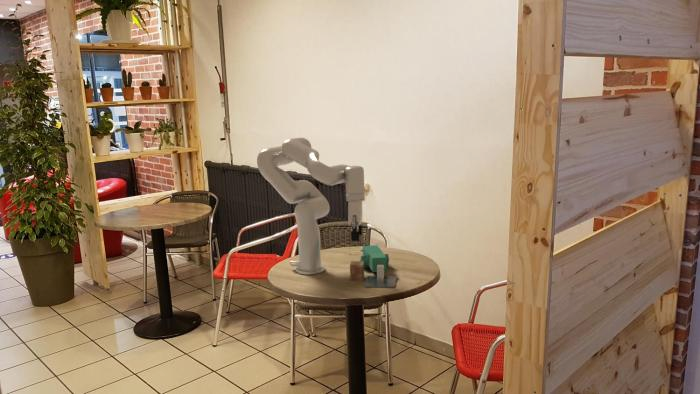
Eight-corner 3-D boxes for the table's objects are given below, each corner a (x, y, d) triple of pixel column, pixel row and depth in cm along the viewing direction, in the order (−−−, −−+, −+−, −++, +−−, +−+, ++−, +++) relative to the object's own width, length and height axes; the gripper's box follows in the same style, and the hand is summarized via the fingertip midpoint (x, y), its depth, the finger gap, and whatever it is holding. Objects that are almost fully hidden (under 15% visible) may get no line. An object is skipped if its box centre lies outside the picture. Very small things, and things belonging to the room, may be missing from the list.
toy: (379, 236, 249) (393, 253, 219) (379, 256, 250) (393, 275, 221) (354, 238, 247) (365, 255, 218) (354, 257, 249) (365, 277, 219)
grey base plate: (364, 287, 207) (364, 270, 206) (367, 277, 219) (367, 261, 218) (394, 287, 206) (394, 270, 204) (396, 277, 217) (395, 261, 216)
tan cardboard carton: (350, 280, 215) (349, 264, 214) (352, 276, 220) (351, 261, 219) (362, 280, 215) (362, 265, 213) (364, 276, 220) (363, 261, 219)
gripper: (349, 193, 220) (350, 232, 223) (343, 200, 204) (344, 243, 206) (366, 193, 219) (367, 232, 222) (362, 200, 203) (363, 243, 205)
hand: (356, 237), depth 214 cm, fingers open, 9 cm apart
